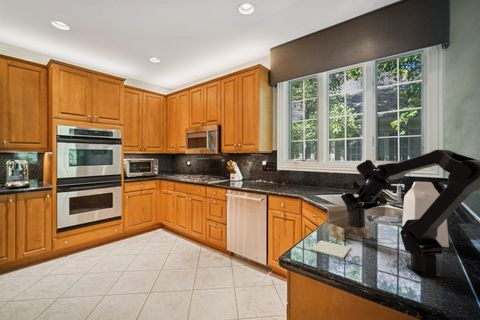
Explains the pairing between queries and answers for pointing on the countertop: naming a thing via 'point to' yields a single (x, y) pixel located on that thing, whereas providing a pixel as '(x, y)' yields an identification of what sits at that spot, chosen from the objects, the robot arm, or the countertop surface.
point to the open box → (342, 223)
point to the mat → (331, 249)
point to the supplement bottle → (357, 217)
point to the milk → (423, 207)
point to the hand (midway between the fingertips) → (354, 210)
